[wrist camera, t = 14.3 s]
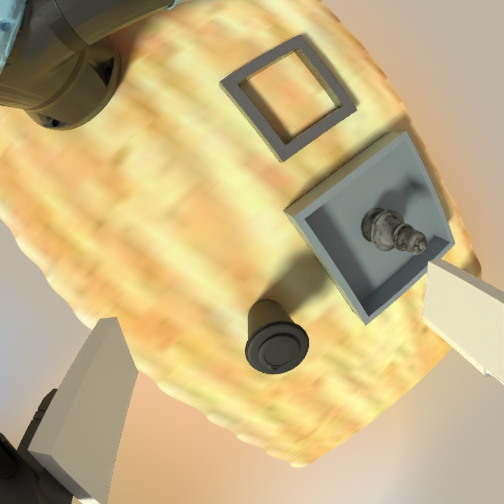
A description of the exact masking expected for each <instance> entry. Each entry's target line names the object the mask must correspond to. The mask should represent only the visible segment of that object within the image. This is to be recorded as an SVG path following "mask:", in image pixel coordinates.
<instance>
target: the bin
mask: <svg viewBox="0 0 504 504" xmlns="http://www.w3.org/2000/svg"><path fill="white" fill-rule="evenodd" d="M373 208H381V209H384V210H390V209H392V210H395V211H397V212H398V213H400V214H401V216H402V217H403V219H404V222H405V224H410V225H411V226H412V227H413V228H414V230H417V231H420V232H422V233H423V234H424V235H425V236H426V239H427V248H426V249H425V250H424V251H423V252H422V253H421V254H418V255H415V254H412V253H410V252H408V251H399V250H397V249H396V248H395V249H394V250H391V251H386V252H385V251H381V250H379V249H377V248H376V247H375V246H374V244H373V243H371V242H368V241H367V240H366V239H365V238H364V237H363V235H362V232H361V222H362V219H363V217H364V215H365V214H366V213H367V212H368V211H369V210H371V209H373ZM283 212H284V213H285V214H286V216H287V217H288V218H289V220H290V221H291V223H292V224H293V225H294V227H295V228H296V229H297V231H298V232H299V234H300V235H301V236H302V238H303V239H304V241H305V242H306V243H307V245H308V246H309V248H310V249H311V251H312V252H313V253H314V255H315V256H316V258H317V259H318V261H319V262H320V263H321V265H322V266H323V268H324V269H325V271H326V272H327V274H328V275H329V276H330V278H331V279H332V281H333V282H334V284H335V285H336V287H337V288H338V290H339V291H340V293H341V294H342V296H343V297H344V299H345V300H346V302H347V303H348V305H349V306H350V308H351V309H352V311H353V312H354V313H355V314H356V315H357V316H358V317H359V318H360V319H361V321H362V322H363V323H364V324H365V325H367V324H368V323H369V322H371V321H372V320H373V319H374V318H376V317H377V316H378V315H379V314H380V313H382V312H383V311H384V310H385V309H386V308H388V307H389V306H390V305H391V304H392V303H393V302H395V301H396V300H397V299H398V298H399V297H400V296H401V295H403V294H404V293H405V292H406V291H407V290H408V289H409V288H410V287H411V286H412V285H414V284H415V283H416V282H417V281H418V280H419V279H420V278H421V277H422V276H423V275H424V274H425V273H426V272H427V270H428V261H431V260H435V259H439V258H440V259H441V258H442V257H443V256H444V255H445V254H446V253H447V252H448V251H449V250H450V248H451V247H452V246H453V245H454V244H455V241H454V238H453V235H452V232H451V229H450V226H449V224H448V221H447V218H446V216H445V213H444V210H443V208H442V205H441V203H440V200H439V198H438V195H437V193H436V191H435V188H434V186H433V184H432V181H431V179H430V177H429V175H428V173H427V170H426V168H425V166H424V164H423V162H422V160H421V158H420V156H419V154H418V152H417V150H416V148H415V146H414V144H413V142H412V140H411V138H410V136H409V135H408V133H407V131H397V132H389V133H386V134H385V135H383V136H382V137H381V138H379V139H378V140H377V141H375V142H374V143H373V144H371V145H370V146H369V147H367V148H366V149H365V150H363V151H362V152H360V153H359V154H358V155H356V156H355V157H354V158H352V159H351V160H350V161H348V162H347V163H346V164H345V165H343V166H342V167H341V168H339V169H338V170H337V171H335V172H334V173H333V174H331V175H330V176H329V177H327V178H326V179H325V180H323V181H322V182H321V183H319V184H318V185H317V186H315V187H314V188H313V189H311V190H310V191H309V192H308V193H306V194H305V195H304V196H302V197H301V198H300V199H298V200H297V201H296V202H294V203H293V204H292V205H290V206H289V207H288V208H287V209H285V210H284V211H283Z"/></svg>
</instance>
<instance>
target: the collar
mask: <svg viewBox="0 0 504 504" xmlns="http://www.w3.org/2000/svg"><path fill="white" fill-rule="evenodd" d="M294 52H295V53H296V55H297V56H298V57H299V58H300V59H301V61H302V62H303V63H304V64H305V65H306V67H307V68H308V69H309V70H310V72H311V73H312V74H313V76H314V77H315V78H316V79H317V81H318V82H319V83H320V85H321V86H322V87H323V89H324V90H325V91H326V93H327V94H328V96H329V97H330V98H331V100H332V101H333V102H334V104H335V105H336V107H337V109H336V110H334V111H333V112H331V113H330V114H328V115H327V116H325V117H324V118H322V119H321V120H320V121H318V122H317V123H315V124H314V125H312V126H311V127H309V128H308V129H306V130H305V131H303V132H302V133H301V134H299V135H298V136H296V137H295V138H294V139H292V140H291V141H289V142H288V143H286V144H284V143H283V142H282V140H281V139H280V138H279V136H278V135H277V134H276V132H275V131H274V130H273V128H272V127H271V126H270V124H269V123H268V122H267V121H266V119H265V118H264V117H263V115H262V114H261V113H260V112H259V110H258V109H257V108H256V107H255V105H254V104H253V103H252V102H251V100H250V99H249V98H248V97H247V95H246V94H245V93H244V92H243V91H242V89H241V88H240V87H239V85H241V84H242V83H244V82H245V81H247V80H248V79H250V78H252V77H253V76H255V75H256V74H258V73H260V72H261V71H263V70H264V69H266V68H268V67H269V66H271V65H273V64H275V63H276V62H278V61H280V60H281V59H283V58H285V57H287V56H289V55H290V54H292V53H294ZM219 86H220V87H221V89H222V90H223V91H224V92H225V93H226V94H227V96H228V97H229V98H230V99H231V101H232V102H233V103H234V104H235V105H236V107H237V108H238V109H239V110H240V112H241V113H242V114H243V115H244V117H245V118H246V119H247V120H248V122H249V123H250V124H251V125H252V127H253V128H254V129H255V130H256V132H257V133H258V134H259V136H260V137H261V138H262V140H263V141H264V142H265V143H266V145H267V146H268V147H269V149H270V150H271V151H272V153H273V154H274V155H275V157H276V158H277V159H278V161H279V162H284V161H286V160H287V159H288V158H290V157H291V156H292V155H294V154H295V153H297V152H298V151H299V150H301V149H302V148H304V147H305V146H306V145H308V144H309V143H311V142H312V141H313V140H315V139H316V138H318V137H319V136H320V135H322V134H323V133H325V132H326V131H328V130H329V129H330V128H332V127H333V126H335V125H336V124H338V123H339V122H341V121H342V120H344V119H345V118H347V117H348V116H349V115H351V114H352V113H354V112H355V111H357V109H356V107H355V106H354V104H353V103H352V101H351V100H350V98H349V97H348V95H347V94H346V93H345V91H344V90H343V88H342V87H341V86H340V84H339V83H338V81H337V80H336V79H335V77H334V76H333V75H332V73H331V72H330V71H329V69H328V68H327V67H326V66H325V64H324V63H323V62H322V61H321V59H320V58H319V57H318V56H317V54H316V53H315V52H314V51H313V49H312V48H311V47H310V46H309V45H308V43H307V42H306V41H305V40H304V39H303V38H302V36H301V35H298V36H296V37H295V38H293V39H291V40H289V41H287V42H285V43H283V44H281V45H279V46H277V47H276V48H274V49H272V50H270V51H268V52H267V53H265V54H263V55H261V56H260V57H258V58H256V59H255V60H253V61H251V62H250V63H248V64H246V65H245V66H243V67H242V68H240V69H238V70H237V71H235V72H234V73H232V74H231V75H229V76H227V77H226V78H224V79H223V80H221V81H220V83H219Z"/></svg>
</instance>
